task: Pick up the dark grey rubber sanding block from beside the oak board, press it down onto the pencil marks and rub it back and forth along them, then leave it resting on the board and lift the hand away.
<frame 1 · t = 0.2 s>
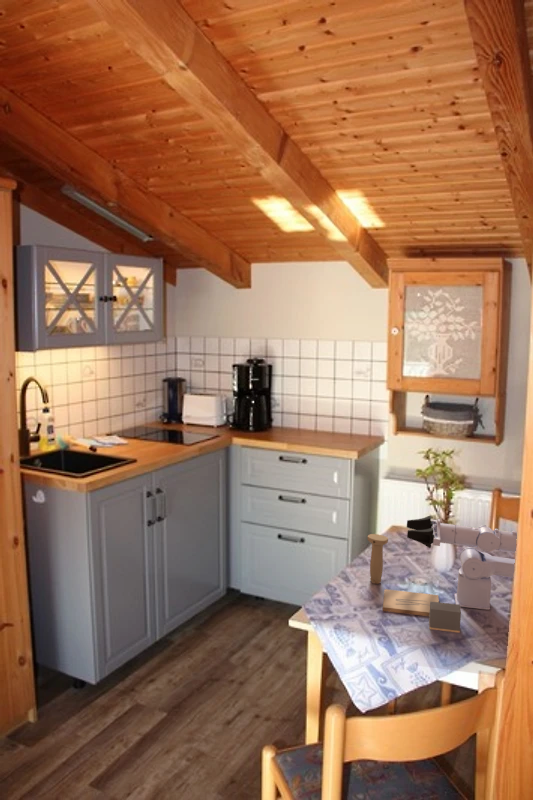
hand: (407, 528, 198), 21 cm above the table, tool horizontal, fingers open, 7 cm apart
handle: (375, 582, 211), on the table
sanding block: (444, 627, 184), on the table
oak board: (410, 604, 196), on the table
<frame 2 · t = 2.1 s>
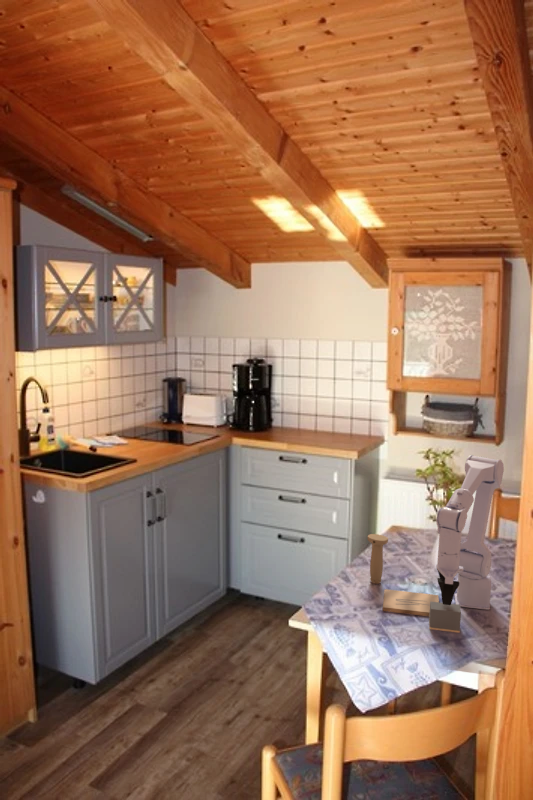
hand: (445, 597, 182), 8 cm above the table, tool pointing down, fingers open, 7 cm apart
nothing on the table moved.
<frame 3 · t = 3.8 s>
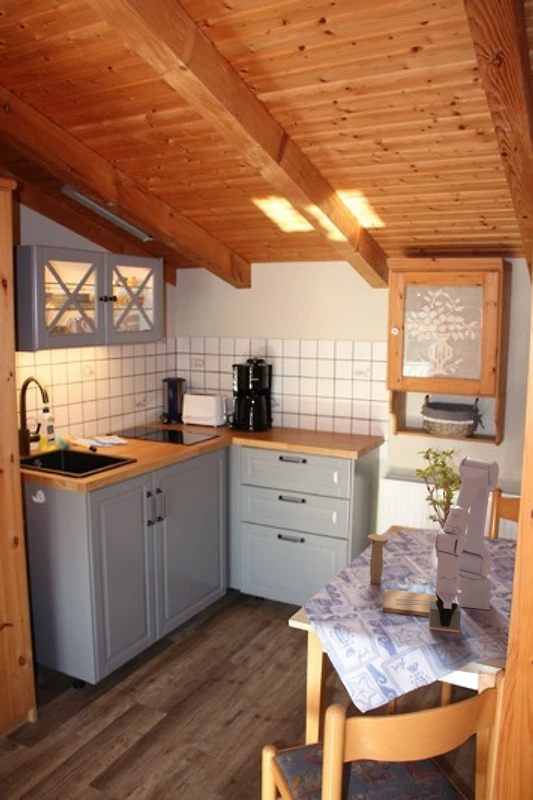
hand: (444, 621, 183), 2 cm above the table, tool pointing down, fingers closed on sanding block, 5 cm apart
sanding block: (444, 626, 184), on the table, touching gripper
everything else where it was.
when the fingers open (3 cm above the table, at t = 13.2 s): sanding block stays where it is, resting on oak board.
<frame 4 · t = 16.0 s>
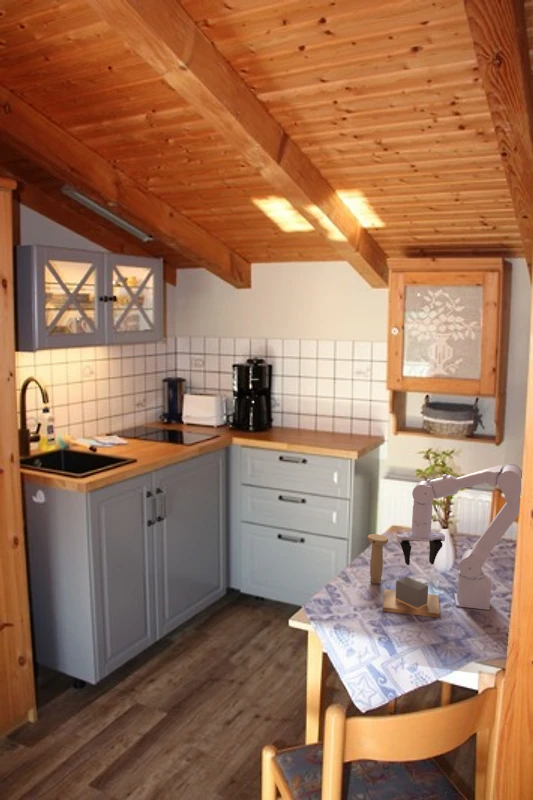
hand: (419, 563, 203), 9 cm above the table, tool pointing down, fingers open, 7 cm apart
sanding block: (411, 602, 195), point 1 cm above the table, touching oak board
everything else where it was.
at the end: sanding block inside the target area on the oak board (0.0 cm from its centre), point 1.2 cm above the oak board's base; sanding block tilted 0°; the gripper is holding nothing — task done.
